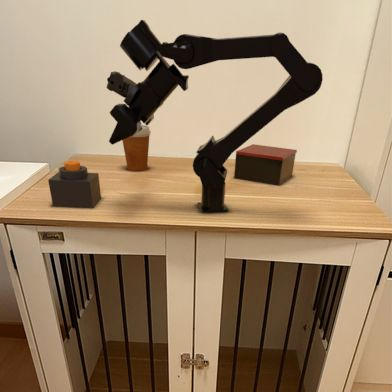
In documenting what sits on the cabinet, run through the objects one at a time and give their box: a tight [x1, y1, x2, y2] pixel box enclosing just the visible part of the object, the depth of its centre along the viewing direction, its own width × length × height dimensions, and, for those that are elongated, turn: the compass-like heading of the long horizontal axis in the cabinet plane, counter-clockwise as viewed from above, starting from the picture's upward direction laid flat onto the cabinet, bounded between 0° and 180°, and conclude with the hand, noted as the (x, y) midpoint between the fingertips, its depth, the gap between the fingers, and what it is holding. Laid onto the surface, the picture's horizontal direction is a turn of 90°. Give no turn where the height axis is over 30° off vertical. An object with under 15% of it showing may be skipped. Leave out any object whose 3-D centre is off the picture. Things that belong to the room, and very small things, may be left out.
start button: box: [63, 160, 81, 171], centre depth 98 cm, size 4×4×2 cm
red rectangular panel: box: [235, 144, 298, 161], centre depth 124 cm, size 13×15×1 cm
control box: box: [47, 165, 102, 209], centre depth 101 cm, size 10×8×8 cm
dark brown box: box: [233, 152, 297, 186], centre depth 126 cm, size 13×15×7 cm
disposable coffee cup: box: [121, 124, 152, 172], centre depth 129 cm, size 10×10×12 cm
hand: (110, 142), depth 96 cm, fingers closed
